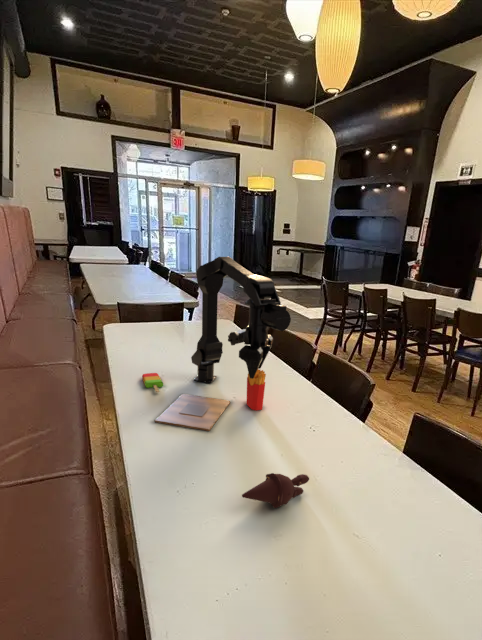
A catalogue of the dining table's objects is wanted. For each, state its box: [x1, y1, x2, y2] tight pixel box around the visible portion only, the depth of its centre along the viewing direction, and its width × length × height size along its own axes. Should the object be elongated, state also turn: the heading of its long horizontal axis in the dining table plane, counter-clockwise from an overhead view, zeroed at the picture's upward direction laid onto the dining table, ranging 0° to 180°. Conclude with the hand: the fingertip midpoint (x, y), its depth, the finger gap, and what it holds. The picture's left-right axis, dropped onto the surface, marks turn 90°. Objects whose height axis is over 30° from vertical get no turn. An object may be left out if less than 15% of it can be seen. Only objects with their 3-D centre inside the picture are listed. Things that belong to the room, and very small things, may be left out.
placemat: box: [154, 393, 231, 432], centre depth 123 cm, size 20×16×1 cm
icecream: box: [241, 472, 310, 509], centre depth 85 cm, size 7×7×15 cm
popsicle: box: [141, 372, 164, 393], centre depth 138 cm, size 6×15×2 cm, turn 25°
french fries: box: [246, 369, 267, 411], centre depth 127 cm, size 8×4×12 cm, turn 28°
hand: (255, 373), depth 125 cm, fingers open, 9 cm apart
